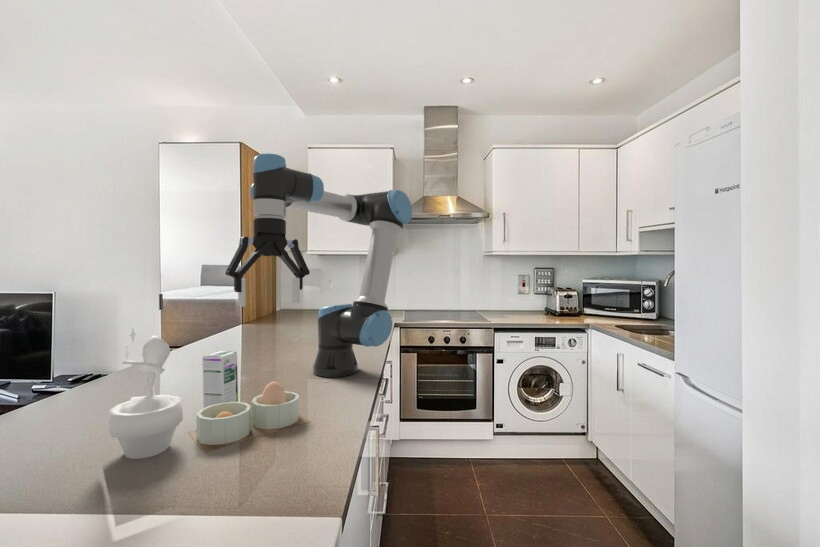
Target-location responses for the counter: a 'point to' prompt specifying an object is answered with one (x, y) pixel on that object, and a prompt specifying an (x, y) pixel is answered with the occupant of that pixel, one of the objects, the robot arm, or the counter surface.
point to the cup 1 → (223, 423)
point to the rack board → (253, 434)
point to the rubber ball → (224, 414)
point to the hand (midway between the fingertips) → (270, 304)
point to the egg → (273, 394)
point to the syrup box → (220, 378)
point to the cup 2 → (275, 412)
